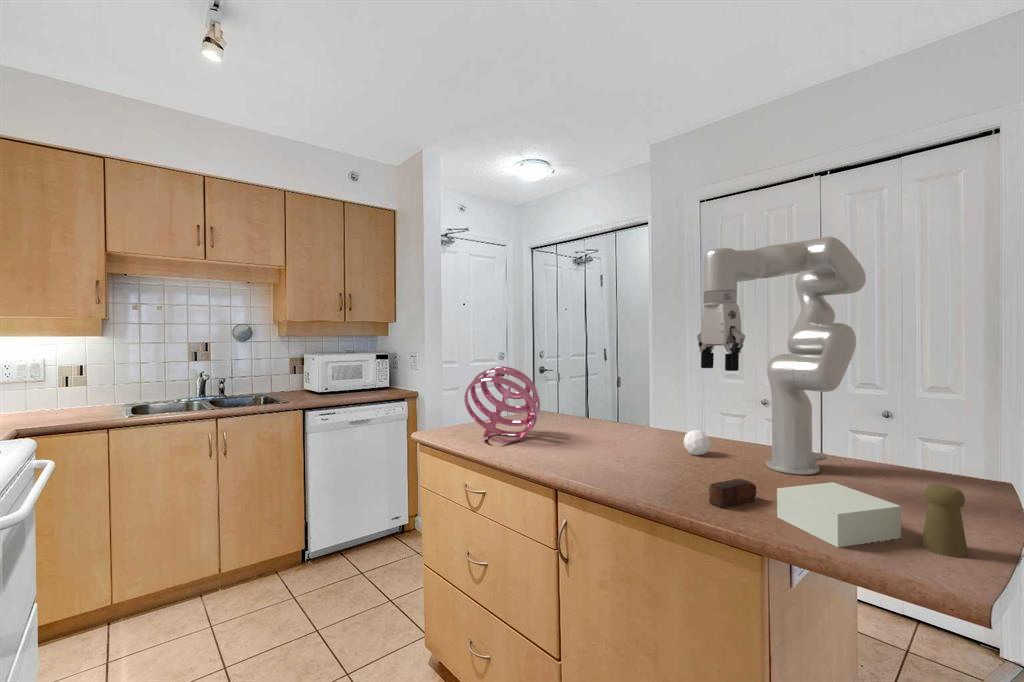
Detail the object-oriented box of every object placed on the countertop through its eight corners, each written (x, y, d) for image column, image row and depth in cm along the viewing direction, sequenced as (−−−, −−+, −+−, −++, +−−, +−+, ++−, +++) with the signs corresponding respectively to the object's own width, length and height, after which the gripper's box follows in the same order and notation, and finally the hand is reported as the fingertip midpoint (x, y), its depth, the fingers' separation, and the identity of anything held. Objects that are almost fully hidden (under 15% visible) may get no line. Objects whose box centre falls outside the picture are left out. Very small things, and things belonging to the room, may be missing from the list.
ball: (702, 462, 146) (717, 441, 146) (697, 459, 139) (713, 437, 139) (681, 447, 150) (696, 427, 150) (676, 443, 144) (691, 422, 144)
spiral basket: (500, 395, 147) (525, 344, 167) (436, 409, 162) (466, 361, 182) (541, 455, 158) (561, 400, 178) (478, 463, 173) (502, 412, 193)
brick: (723, 510, 101) (723, 488, 101) (708, 504, 104) (708, 483, 104) (757, 501, 105) (757, 481, 105) (741, 496, 109) (741, 476, 109)
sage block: (833, 510, 99) (833, 482, 99) (901, 538, 86) (900, 506, 85) (777, 517, 96) (776, 488, 96) (837, 547, 83) (837, 514, 82)
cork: (911, 542, 84) (911, 481, 84) (942, 540, 85) (942, 480, 84) (945, 558, 78) (945, 493, 78) (978, 556, 78) (978, 491, 78)
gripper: (758, 297, 107) (757, 371, 107) (712, 302, 124) (711, 367, 124) (728, 296, 105) (727, 371, 105) (686, 302, 122) (685, 367, 122)
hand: (718, 369), depth 114 cm, fingers open, 9 cm apart
